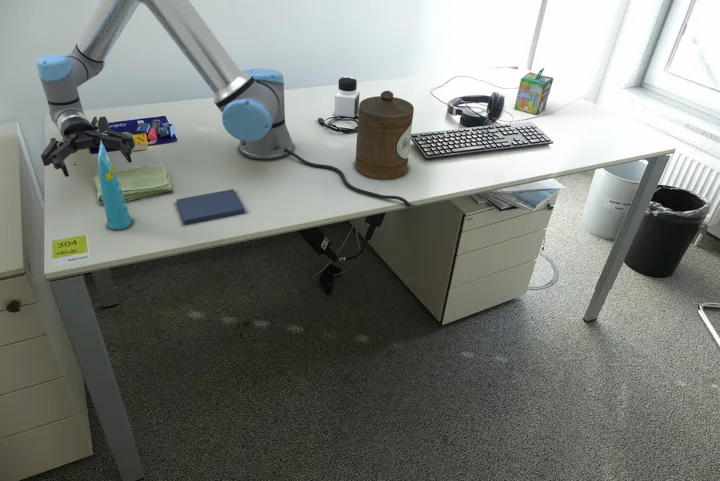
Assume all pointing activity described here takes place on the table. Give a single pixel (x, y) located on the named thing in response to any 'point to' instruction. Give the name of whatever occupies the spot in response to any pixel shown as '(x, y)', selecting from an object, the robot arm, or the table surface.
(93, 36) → the robot arm
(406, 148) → the wooden container
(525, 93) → the chalk box
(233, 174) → the table surface
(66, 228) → the table surface
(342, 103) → the medicine bottle
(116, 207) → the tube
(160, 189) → the washcloth
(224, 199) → the notebook
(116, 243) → the table surface
